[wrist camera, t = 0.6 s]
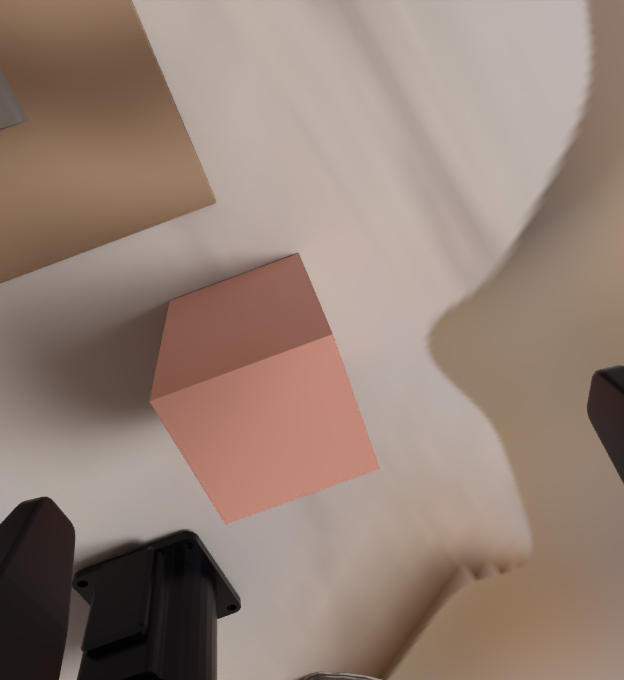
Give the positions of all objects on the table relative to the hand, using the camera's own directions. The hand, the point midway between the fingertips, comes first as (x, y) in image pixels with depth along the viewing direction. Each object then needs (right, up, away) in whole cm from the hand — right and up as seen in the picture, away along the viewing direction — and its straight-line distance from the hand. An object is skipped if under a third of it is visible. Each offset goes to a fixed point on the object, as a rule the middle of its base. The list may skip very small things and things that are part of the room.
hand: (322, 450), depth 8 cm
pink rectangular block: (-2, +2, +12) cm, 13 cm away
